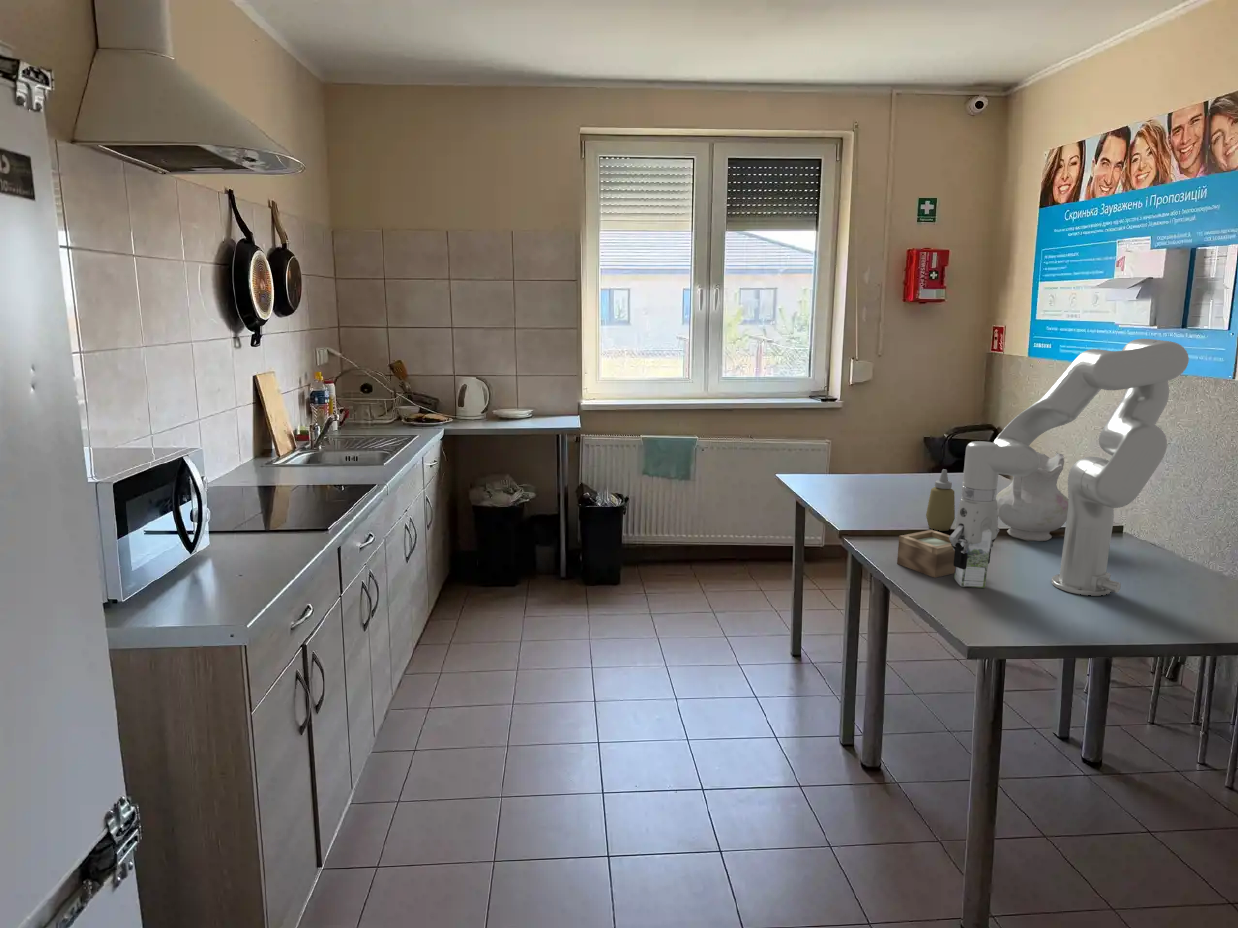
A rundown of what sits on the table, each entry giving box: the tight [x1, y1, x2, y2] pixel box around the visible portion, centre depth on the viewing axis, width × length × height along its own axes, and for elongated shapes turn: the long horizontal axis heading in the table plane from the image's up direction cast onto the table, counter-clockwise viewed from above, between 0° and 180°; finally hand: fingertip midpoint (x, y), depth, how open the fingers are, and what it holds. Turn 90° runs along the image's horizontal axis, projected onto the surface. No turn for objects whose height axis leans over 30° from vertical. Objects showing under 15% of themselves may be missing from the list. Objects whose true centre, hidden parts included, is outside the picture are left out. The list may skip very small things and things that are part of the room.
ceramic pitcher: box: [996, 451, 1068, 542], centre depth 235 cm, size 22×20×25 cm
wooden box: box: [896, 529, 955, 578], centre depth 210 cm, size 12×12×8 cm
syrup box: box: [953, 529, 992, 589], centre depth 197 cm, size 6×6×14 cm
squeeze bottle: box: [925, 468, 956, 532], centre depth 242 cm, size 8×8×18 cm
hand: (971, 564), depth 197 cm, fingers closed on syrup box, 7 cm apart
